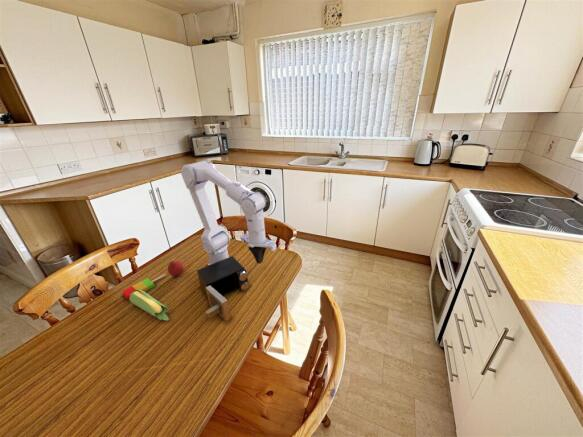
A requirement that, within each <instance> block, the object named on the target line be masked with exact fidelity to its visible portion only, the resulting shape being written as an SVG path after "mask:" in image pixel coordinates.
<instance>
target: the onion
mask: <svg viewBox="0 0 583 437" xmlns="http://www.w3.org/2000/svg"><path fill="white" fill-rule="evenodd" d="M184 270H185V265H184V263H183V262H181V261H180V260H176V258H173V259H172V260H171V262H169V264H168V266H167V273H168V274H169V275H170V276H172V277H179V276H180V275H182V274H183V273H184Z"/></svg>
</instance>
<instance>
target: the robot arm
mask: <svg viewBox="0 0 583 437" xmlns="http://www.w3.org/2000/svg"><path fill="white" fill-rule="evenodd" d="M180 175H181V177H182V179H183V183H184V185H185V187H186V189H188V192H189V194H190V196H191V199H192V201H193V204H194V206H195V209H196V212H197V214H198V216H199V219H200V221H201V224H202V226H203V229H204V230H203V233H202V234H201V236H200V239H201V243H202V244H201V245H202V248H203V250H204V251H205V252H206V253H207V256H208V263H207V266H209V265H211V264H214V263H216V262H219V261H221V260H224V259H226V258H229V257H230V256H229V252H228V247H229V243H231V237H230V234H229V233H228V232H227V230H226V228H225V227H224V226H221V225H219V224H218V221H217V218H216V215H215V213H214V210H213V208H212V205H211V202H210V200H209V197H208V195H207V192H206V190H205V187H206V184H207V183H208V182H211V183H212V184H214V185H215V186H218V187H219V188H220V189H222V190H224V191H225V195H226V196H227V197H228V198H230V199H231V200H233V202H235V203H236V204H238V205H239V207H240V209H241V211H242V212H243V215H244V218H245V220H246V225H247V227H246V228H247V233H248V234H245V233H243V234H242V235H240V236H239V237H240V241H241V242H246V243H247V246H248V247H247V248H248V250H249V251H250V253H251V255H253V257H254V260H255V262H256V263H257V264H259V265H260V264H261V263H263V261H264V257H265V253H266V250H267V249H268V250H270V251H271V252H274V251H276V250H277V243H275V242H273V241H271V240H270V239H268V238H267V237H266V227H265V214H264V209H265V207H266V205H267V200H266V196H264V194H262V192H260V191H252V190H250V189H249V188H247V187H246V186H244V185H243V184H242V183H241V182H239V181H231V180H230V179H229V178H228V177H226V176H225V175H223V173H221V172H220V171H219V170H218V169H216V165H215V164H214V163H212V161H210V160H208V159H204V160H201V161H198V162H193V163H189V164H184V165H182V168H181V171H180Z"/></svg>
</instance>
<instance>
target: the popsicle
mask: <svg viewBox="0 0 583 437" xmlns="http://www.w3.org/2000/svg"><path fill="white" fill-rule="evenodd" d="M166 276H167V274H166V273H163V274H162V275H160V276H158V277H156V278H154V279H153V280H150V279H149V278H147V277H145V279H142V280H141V281H139V282H137V283H135V284H133V285H132V286H129V287H127V288H126V289H124V290H123V291H122V295H123V297H124V298H125V299H126V300H127V301H130V300H129V299H130V295H131V293H132V291H133V290H142V291H144V292H146V293H147V292H148V291H150V290H152V289H153V288H155V287H156V285H155V282H157V281H159V280H160V279H162V278H164V277H166Z"/></svg>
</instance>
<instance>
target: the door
mask: <svg viewBox="0 0 583 437" xmlns="http://www.w3.org/2000/svg"><path fill="white" fill-rule="evenodd" d="M206 292H207V296H208V297H207V296H206V297H207V300H208V305H209V306H210V308H209V309H207V310H206V311H205V315H206V318H207V319H211V318H212V317H214V316H216V315H217V314H218V315H219V316H220V317H221V318H222V319H223V320H224V321H225V322H227V321H229V320H230V319H231V315H230V308H229V304H228V300H227V299H226V298H225V296H222V295H220V294H219V293H218V292H217V291H216V290H215V289H214V288H212V287H211V286H208V287H206Z"/></svg>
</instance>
